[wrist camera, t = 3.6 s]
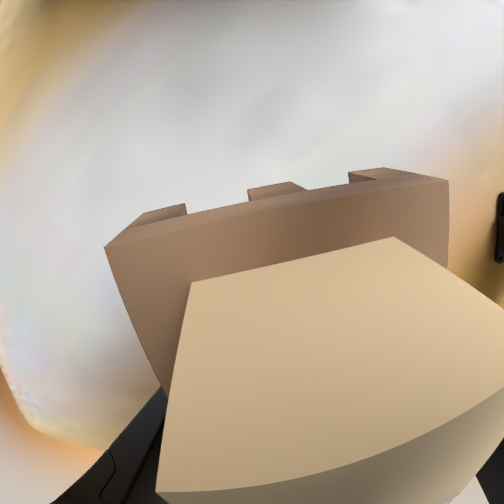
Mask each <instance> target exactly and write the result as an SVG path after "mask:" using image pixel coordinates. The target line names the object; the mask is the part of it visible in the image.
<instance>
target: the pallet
mask: <svg viewBox="0 0 504 504" xmlns="http://www.w3.org/2000/svg"><path fill="white" fill-rule="evenodd" d="M348 177H349V184H343V185H337V186H331V187H325V188H319V189H313V190H306V189H304V188H302V187H300V186H298V185H296V184H294V183H292V182H285V183H279V184H274V185H268V186H263V187H258V188H253V189H248V190H247V193H248V199H249V202H244V203H239V204H234V205H230V206H225V207H220V208H215V209H211V210H206V211H202V212H197V213H193V214H188V215H187V211H186V206H185V203H183V204H179V205H174V206H170V207H166V208H162V209H158V210H154V211H150V212H146V213H143V214H142V215H141V216H140V217H138V218H137V219H136V220H135V221H134V222H132V223H131V224H130V225H129V226H128V227H127V228H125V229H124V230H123V231H122V232H121V233H120V234H118V235H117V236H116V237H115V238H114V239H113V240H112V241H111V242H109V243H108V244H107V245H106V246H105V247H104V249H105V252H106V255H107V258H108V261H109V264H110V267H111V270H112V273H113V276H114V278H115V281H116V284H117V287H118V289H119V292H120V294H121V297H122V300H123V302H124V305H125V307H126V310H127V312H128V315H129V317H130V319H131V322H132V324H133V327H134V329H135V331H136V334H137V336H138V338H139V340H140V343H141V345H142V347H143V349H144V351H145V353H146V356H147V358H148V360H149V362H150V364H151V366H152V368H153V370H154V372H155V374H156V376H157V378H158V380H159V382H160V384H161V386H162V388H163V390H164V392H165V394H166V396H167V397H168V399H169V393H170V388H171V382H172V376H173V371H174V365H175V360H176V355H177V350H178V344H179V339H180V334H181V329H182V324H183V320H184V315H185V310H186V305H187V301H188V296H189V292H190V287H191V283H192V282H197V281H202V280H206V279H211V278H215V277H220V276H225V275H229V274H234V273H238V272H243V271H248V270H252V269H257V268H261V267H266V266H270V265H274V264H279V263H283V262H288V261H292V260H297V259H301V258H305V257H310V256H314V255H318V254H323V253H327V252H331V251H335V250H340V249H344V248H348V247H352V246H357V245H361V244H365V243H369V242H373V241H378V240H382V239H386V238H390V237H395V238H397V239H399V240H400V241H402V242H404V243H405V244H407V245H409V246H410V247H412V248H414V249H415V250H417V251H419V252H420V253H422V254H423V255H425V256H427V257H428V258H430V259H431V260H433V261H434V262H436V263H438V264H439V265H441V266H442V267H444V268H445V269H447V259H448V242H449V183H448V180H444V179H439V178H435V177H430V176H426V175H421V174H416V173H411V172H406V171H401V170H395V169H390V168H384V167H383V168H376V169H368V170H361V171H353V172H348Z"/></svg>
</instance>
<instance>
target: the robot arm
mask: <svg viewBox="0 0 504 504" xmlns="http://www.w3.org/2000/svg"><path fill="white" fill-rule="evenodd" d="M495 261H496V262H497V263H502V262H504V192H501V193H500V196H499V215H498V231H497V243H496V252H495ZM167 405H168V397H167V396H166V394H165V392H164V390H163V388H162V386H160V388H159V389H158V390H157V391H156V392H155V394H154V395H153V396H152V397H151V398H150V400H149V401H148V402H147V403H146V404H145V405H144V407H143V408H142V409H141V410H140V411H139V413H138V414H137V415H136V416H135V417H134V418H133V420H132V421H131V422H130V423H129V424H128V426H127V427H126V428H125V429H124V430H123V431H122V433H121V434H120V435H119V436H118V437H117V438H116V440H115V441H114V442H113V443H112V444H111V445H110V447H109V449H107V450H106V451H105V452H104V453H103V455H102V456H101V457H100V458H99V459H98V461H96V462H95V463H94V465H93V466H92V467H91V468H90V469H89V470H88V471H87V472H86V473H85V474H84V475H83V476H82V477H81V478H79V479H78V480H77V481H76V482H75V483H74V484H73V485H72V486H71V487H69V488H68V489H67V490H66V491H65V492H64V493H63V494H62V495H60V496H59V497H58V498H57V499H56V500H55V501H53V502H52V503H50V504H169V503H168V502H166V501H165V500H164V499H163V498H162V497H161V496H160V495H158V494H157V493H156V492H155V490H156V482H157V474H158V466H159V458H160V451H161V444H162V437H163V430H164V424H165V418H166V411H167ZM476 477H477V479H478V481H479V483H480V485H481V487H482V489H483V491H484V494H485V495H486V498H487V500H488V502H489V504H504V438H503V439H502V441H501V442H500V443H499V445H498V446H497V448H496V449H495V450H494V452H493V453H492V455H491V456H490V457H489V459H488V460H487V461H486V462H485V464H484V465H483V466H482V467H481V469H480V470H479V471H478V472H477V474H476Z"/></svg>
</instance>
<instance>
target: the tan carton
mask: <svg viewBox="0 0 504 504" xmlns="http://www.w3.org/2000/svg"><path fill="white" fill-rule="evenodd" d="M503 438H504V309H503V308H501V307H500V306H499V305H497V304H496V303H495V302H493V301H492V300H490V299H489V298H488V297H486V296H485V295H483V294H482V293H481V292H479V291H478V290H476V289H475V288H473V287H472V286H471V285H469V284H468V283H466V282H465V281H463V280H462V279H460V278H459V277H457V276H456V275H454V274H453V273H451V272H450V271H448V270H447V269H445V268H444V267H442V266H441V265H439V264H438V263H436V262H434V261H433V260H431V259H430V258H428V257H427V256H425V255H423V254H422V253H420V252H419V251H417V250H415V249H414V248H412V247H410V246H409V245H407V244H405V243H404V242H402V241H400V240H399V239H397V238H395V237H390V238H386V239H382V240H378V241H373V242H369V243H365V244H361V245H357V246H352V247H348V248H344V249H340V250H335V251H331V252H327V253H323V254H318V255H314V256H310V257H305V258H301V259H297V260H292V261H288V262H283V263H279V264H274V265H270V266H266V267H261V268H257V269H252V270H248V271H243V272H238V273H234V274H229V275H225V276H220V277H215V278H211V279H206V280H202V281H197V282H192V283H191V287H190V292H189V296H188V301H187V305H186V310H185V315H184V320H183V324H182V329H181V334H180V339H179V344H178V350H177V355H176V360H175V365H174V371H173V376H172V382H171V388H170V393H169V399H168V405H167V411H166V418H165V424H164V430H163V437H162V444H161V451H160V458H159V466H158V474H157V482H156V490H155V492H156V493H157V494H158V495H160V496H161V497H162V498H163V499H164V500H165V501H166V502H168V503H169V504H443V503H445V502H447V501H449V500H450V499H452V498H454V497H456V496H457V495H458V494H459V493H460V492H461V491H462V490H463V489H464V487H465V486H466V485H467V484H468V483H469V482H470V481H471V480H472V478H473V477H474V476H475V475H476V474H477V472H478V471H479V470H480V469H481V467H482V466H483V465H484V464H485V462H486V461H487V460H488V459H489V457H490V456H491V455H492V453H493V452H494V450H495V449H496V448H497V446H498V445H499V443H500V442H501V441H502V439H503Z"/></svg>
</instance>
